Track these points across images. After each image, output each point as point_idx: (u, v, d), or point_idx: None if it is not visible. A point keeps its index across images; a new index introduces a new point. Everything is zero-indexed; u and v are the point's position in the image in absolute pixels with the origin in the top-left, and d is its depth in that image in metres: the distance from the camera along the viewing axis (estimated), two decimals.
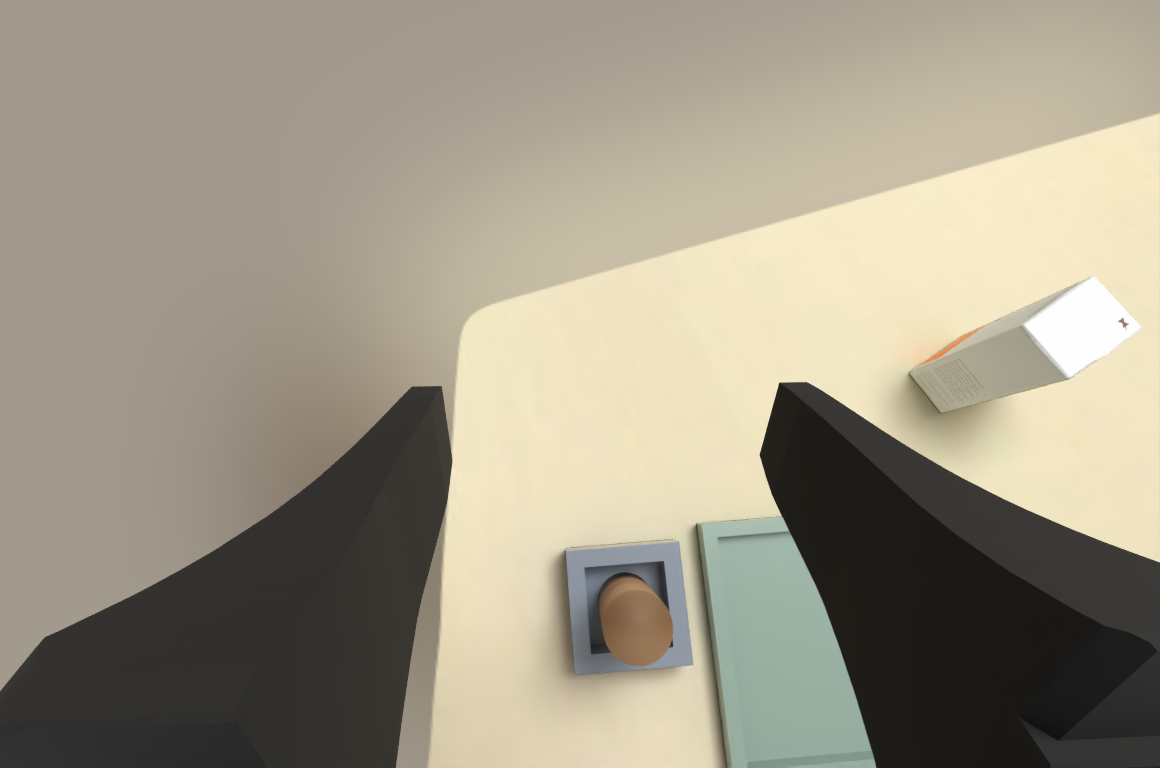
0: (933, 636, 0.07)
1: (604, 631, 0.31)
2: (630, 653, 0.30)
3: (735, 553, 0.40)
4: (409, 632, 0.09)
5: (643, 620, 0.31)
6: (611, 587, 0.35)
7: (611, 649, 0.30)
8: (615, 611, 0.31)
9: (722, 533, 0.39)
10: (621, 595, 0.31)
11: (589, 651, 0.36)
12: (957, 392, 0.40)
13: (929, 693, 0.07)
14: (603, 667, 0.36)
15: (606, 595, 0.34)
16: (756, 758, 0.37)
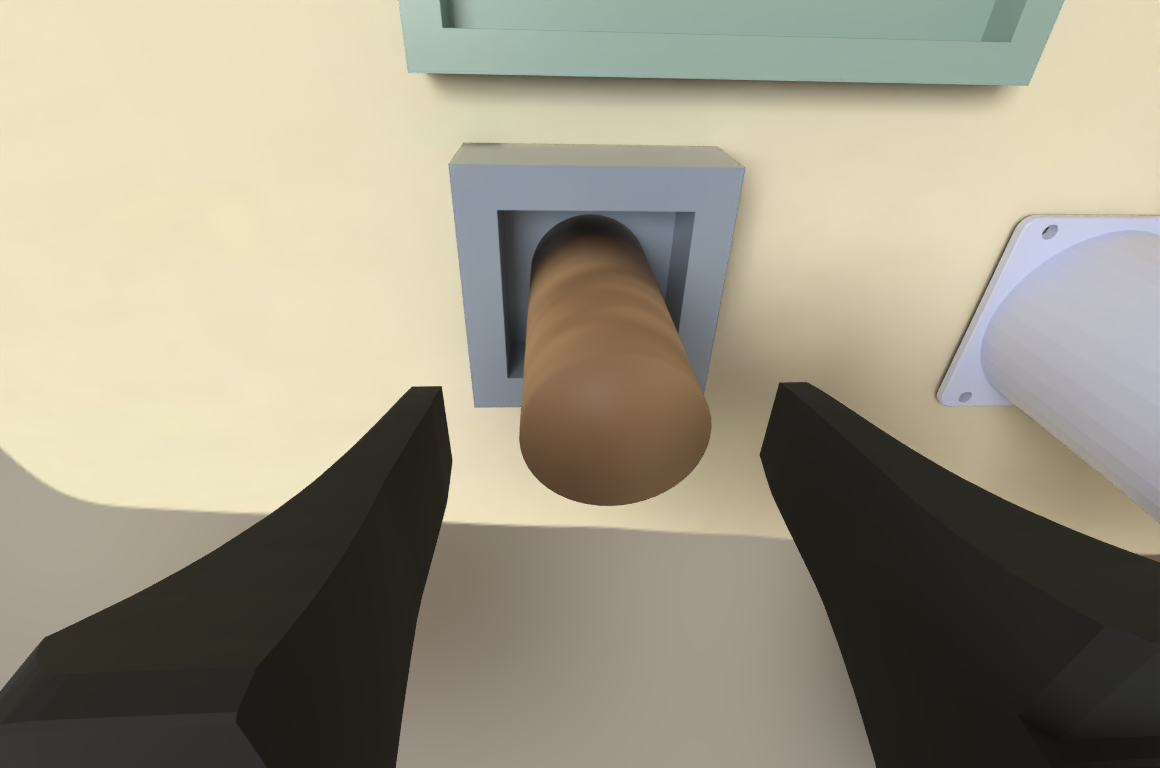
0: (933, 636, 0.07)
1: (612, 504, 0.12)
2: (674, 456, 0.12)
3: None
4: (409, 632, 0.09)
5: (598, 424, 0.11)
6: None
7: (655, 493, 0.12)
8: (568, 480, 0.12)
9: (431, 7, 0.13)
10: (530, 465, 0.12)
11: None
12: None
13: (929, 693, 0.07)
14: (700, 357, 0.18)
15: None
16: None
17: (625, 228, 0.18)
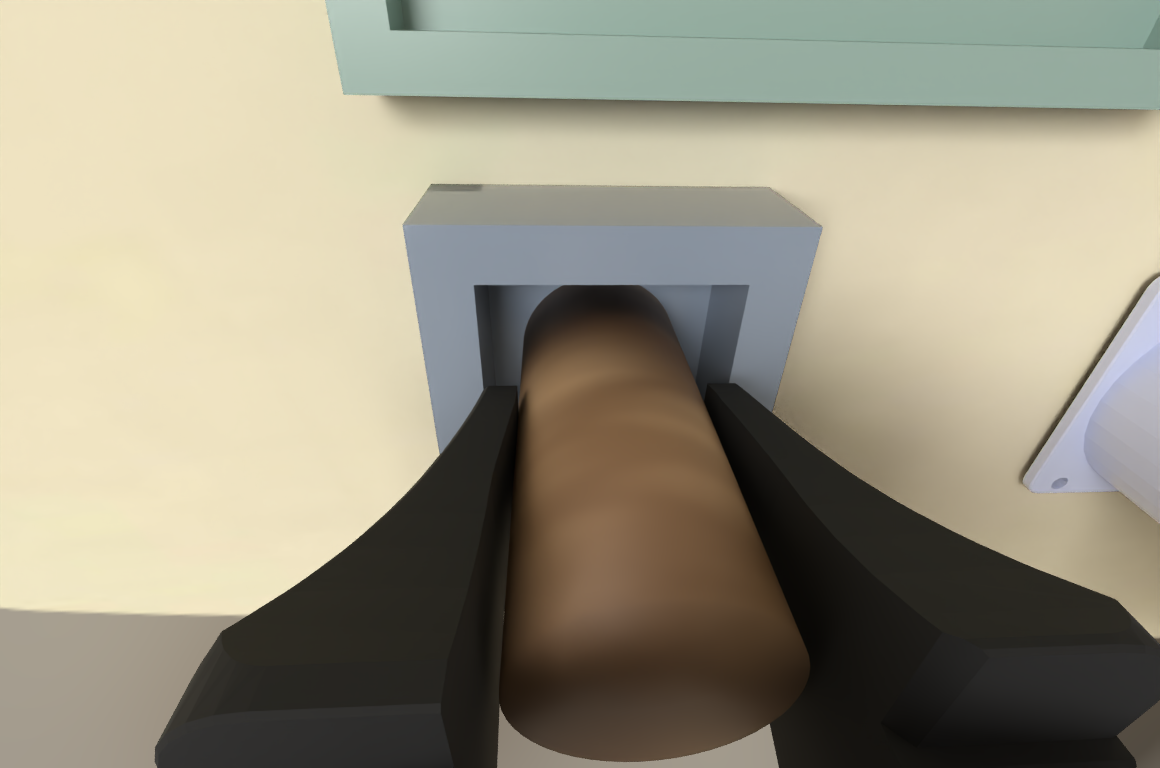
0: (819, 640, 0.07)
1: None
2: (746, 709, 0.07)
3: None
4: (501, 629, 0.09)
5: (627, 679, 0.07)
6: None
7: (711, 747, 0.08)
8: (577, 738, 0.08)
9: None
10: (517, 725, 0.07)
11: None
12: None
13: (817, 698, 0.07)
14: None
15: None
16: None
17: (647, 294, 0.13)
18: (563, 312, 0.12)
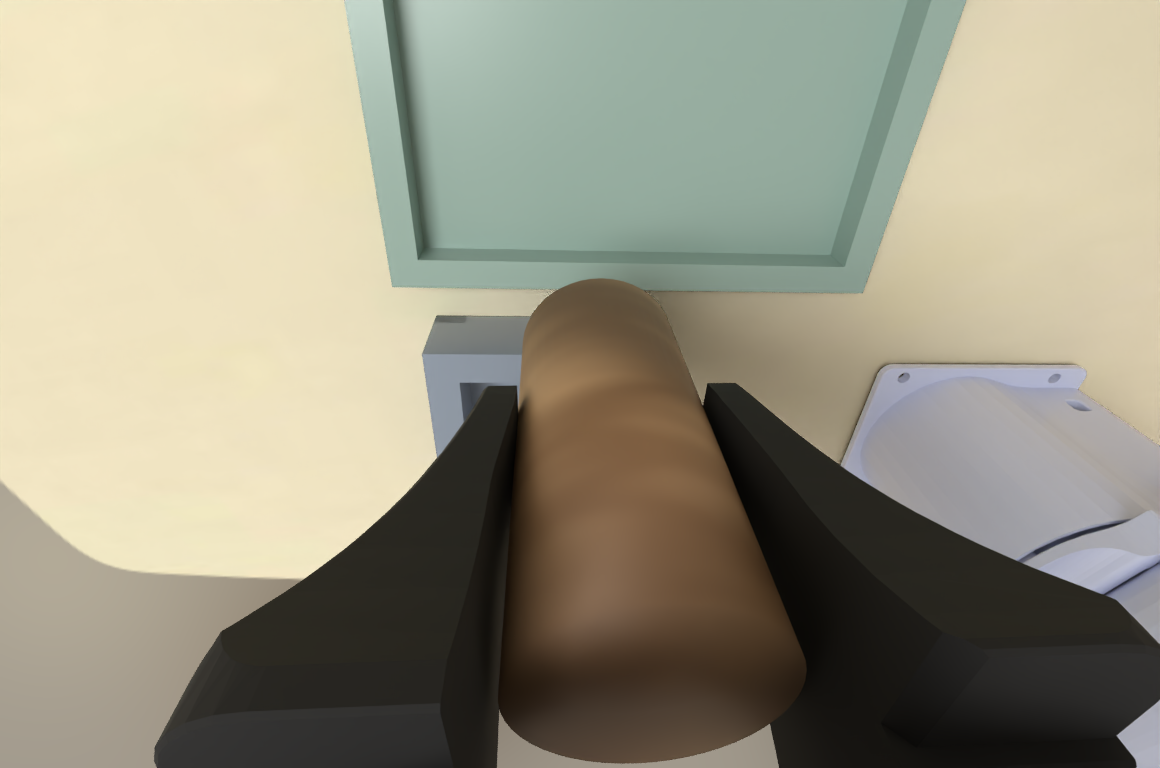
0: (820, 641, 0.07)
1: (639, 762, 0.08)
2: (742, 713, 0.07)
3: (459, 207, 0.19)
4: (500, 629, 0.09)
5: (625, 682, 0.07)
6: None
7: (706, 750, 0.08)
8: (574, 740, 0.08)
9: (409, 247, 0.18)
10: (515, 726, 0.07)
11: None
12: None
13: (817, 698, 0.07)
14: None
15: None
16: (834, 229, 0.20)
17: (647, 298, 0.13)
18: (564, 314, 0.12)
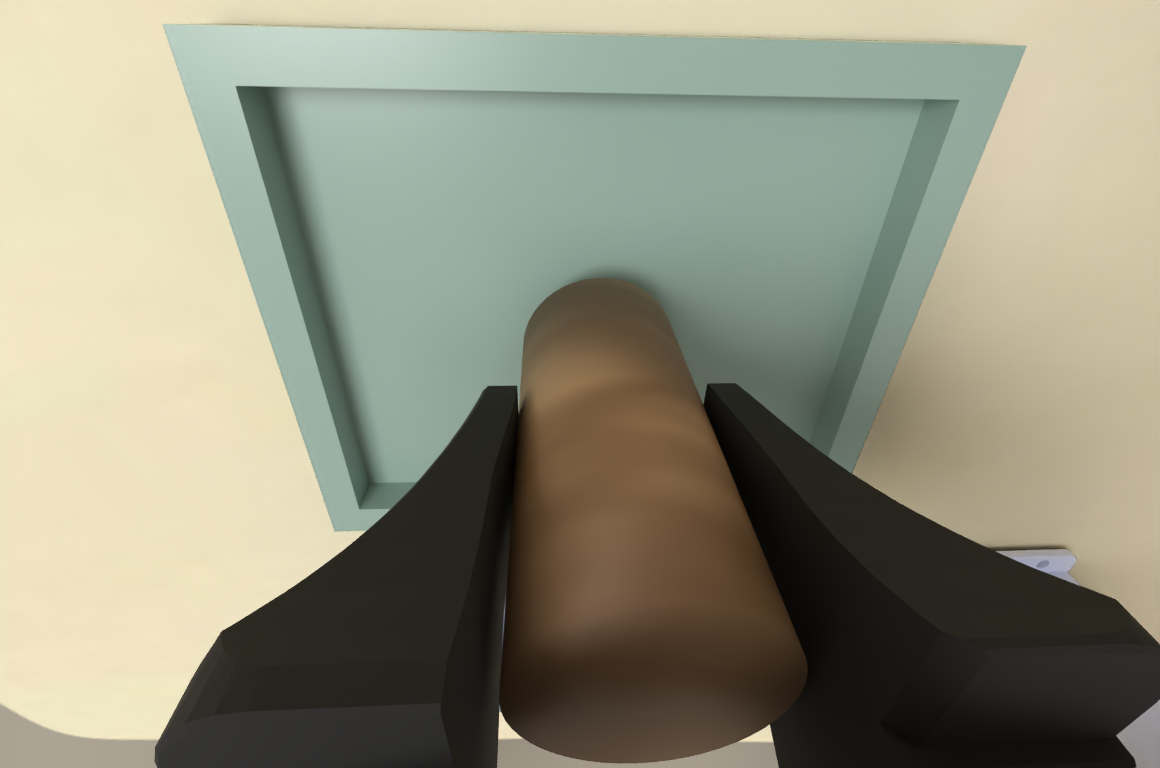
0: (819, 641, 0.07)
1: (639, 762, 0.08)
2: (741, 713, 0.07)
3: (403, 450, 0.18)
4: (501, 629, 0.09)
5: (627, 682, 0.07)
6: None
7: (706, 750, 0.08)
8: (574, 739, 0.08)
9: (349, 499, 0.17)
10: (515, 725, 0.07)
11: None
12: None
13: (817, 698, 0.07)
14: None
15: None
16: None
17: (649, 298, 0.13)
18: (565, 313, 0.12)
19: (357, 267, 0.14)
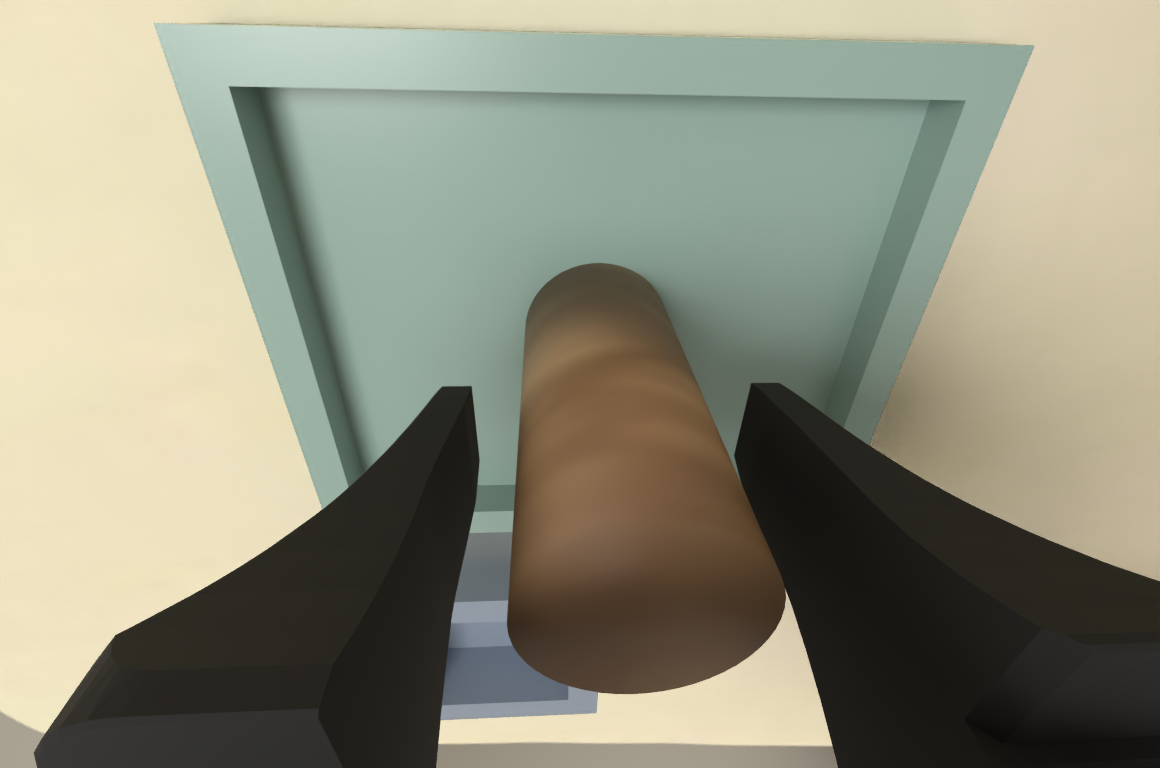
0: (889, 638, 0.07)
1: (634, 692, 0.09)
2: (727, 640, 0.08)
3: None
4: (446, 631, 0.09)
5: (622, 606, 0.08)
6: None
7: (696, 680, 0.09)
8: (575, 667, 0.08)
9: None
10: (521, 651, 0.08)
11: (563, 700, 0.22)
12: None
13: (885, 695, 0.07)
14: None
15: None
16: None
17: (644, 281, 0.14)
18: (565, 294, 0.13)
19: (354, 270, 0.14)
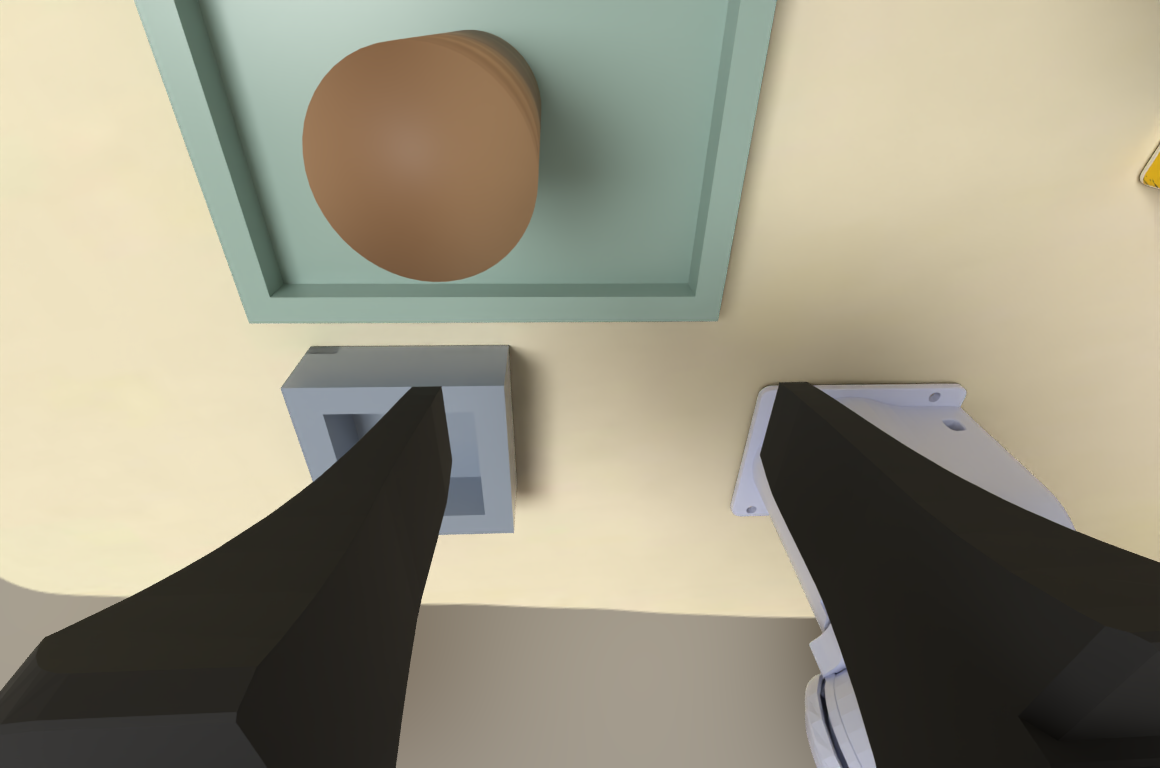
0: (933, 636, 0.07)
1: (435, 278, 0.10)
2: (499, 208, 0.10)
3: (311, 245, 0.19)
4: (409, 633, 0.09)
5: (398, 151, 0.09)
6: None
7: (485, 264, 0.10)
8: (377, 239, 0.10)
9: (259, 285, 0.19)
10: (327, 214, 0.10)
11: (480, 516, 0.24)
12: None
13: (929, 693, 0.07)
14: (504, 501, 0.23)
15: None
16: (687, 258, 0.20)
17: (512, 47, 0.16)
18: None
19: (249, 33, 0.16)
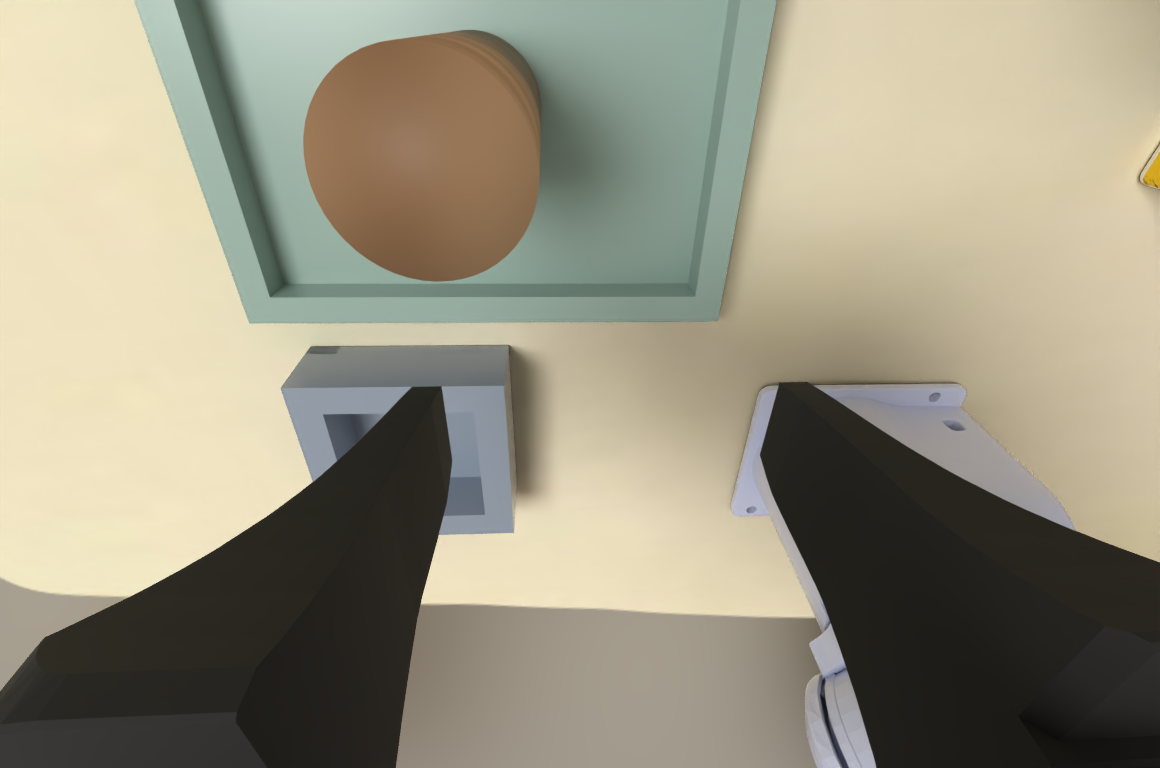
0: (933, 636, 0.07)
1: (436, 278, 0.10)
2: (500, 208, 0.10)
3: (311, 245, 0.19)
4: (409, 633, 0.09)
5: (399, 151, 0.09)
6: None
7: (485, 264, 0.10)
8: (378, 238, 0.10)
9: (259, 285, 0.19)
10: (327, 213, 0.10)
11: (480, 516, 0.24)
12: None
13: (929, 693, 0.07)
14: (504, 501, 0.23)
15: None
16: (687, 258, 0.20)
17: (512, 47, 0.16)
18: None
19: (249, 33, 0.16)
